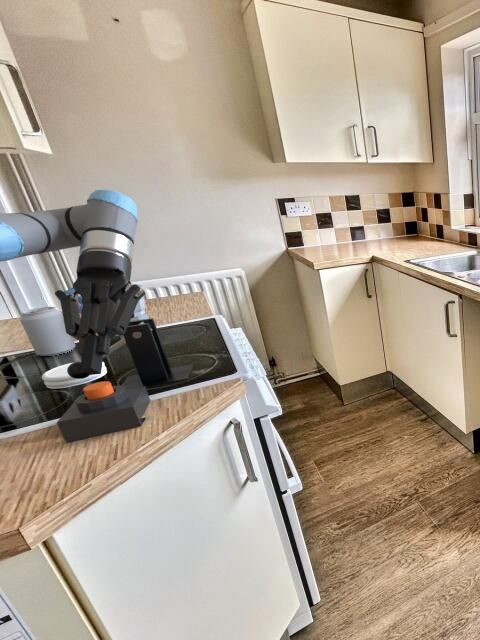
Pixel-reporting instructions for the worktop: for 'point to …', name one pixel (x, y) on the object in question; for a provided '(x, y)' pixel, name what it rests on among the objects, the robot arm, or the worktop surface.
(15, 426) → the worktop surface
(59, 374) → the white thick disc
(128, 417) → the control block
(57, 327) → the can
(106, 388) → the stop button
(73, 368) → the lever
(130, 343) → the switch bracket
